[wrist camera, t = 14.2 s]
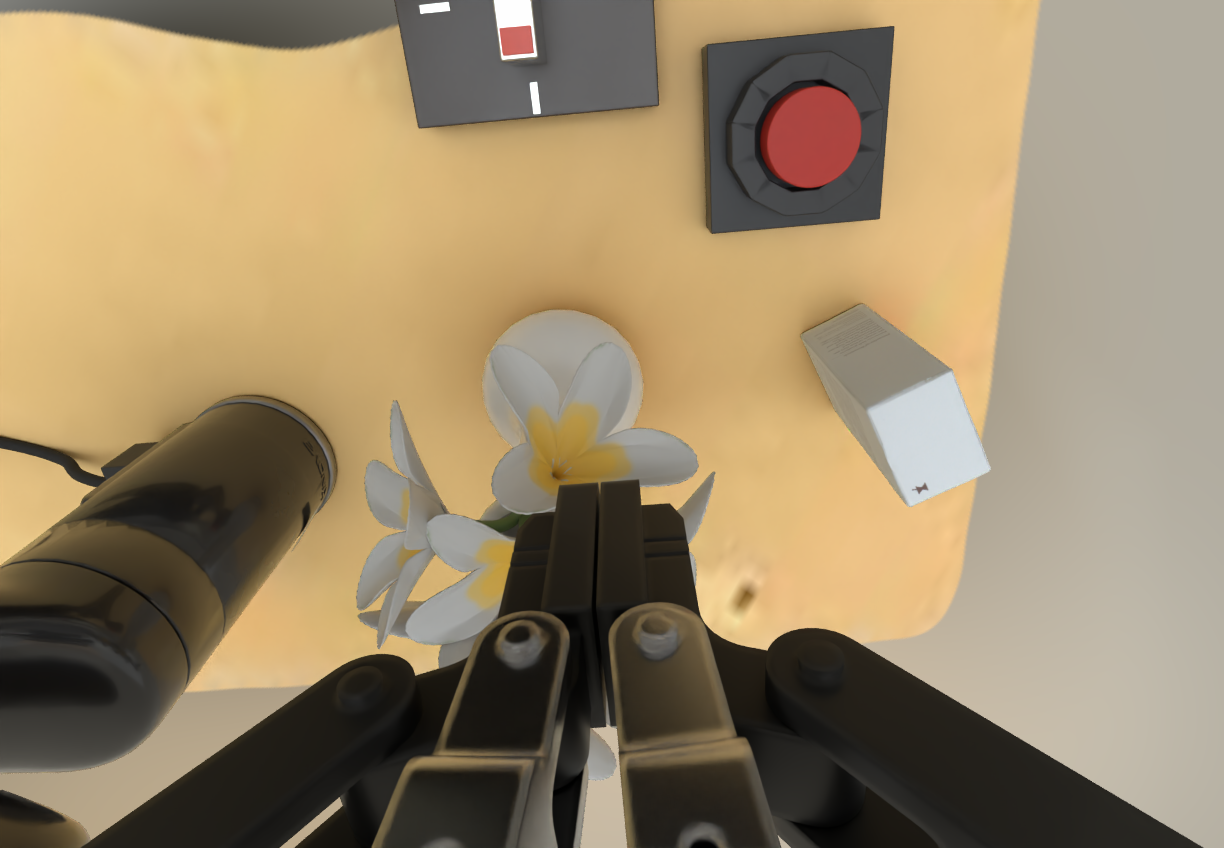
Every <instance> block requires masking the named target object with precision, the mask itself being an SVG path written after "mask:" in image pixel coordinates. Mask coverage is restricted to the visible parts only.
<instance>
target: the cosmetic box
mask: <svg viewBox="0 0 1224 848" xmlns="http://www.w3.org/2000/svg"><path fill="white" fill-rule="evenodd" d="M801 339H802V341H803V343H804V345H805V347H806V349H807V352H808V354H809V356H810V358H811V360H812V362H813V365H814V367H815V369H816V371H817V373H818V375H819V377H820V380H821V382H822V384H823V386H824V388H825V390H826V392H827V394H828V397H829V399H830V401H831V403H832V405H833V407H834V410H835V412H836V413H837V414H838V416H839V417H840V418H841V419H842V421H843V422H844V424H845V425H846V426H847V428H848V429H849V430H850V431H851V433H852V434H853V436H854V437H855V438H856V439H857V441H858V442H859V443H860V445H861V446H862V447H863V448H864V450H865V451H866V453H867V454H868V455H869V456H870V458H871V459H872V460H873V462H874V463H875V465H876V466H877V467H878V469H879V470H880V471H881V472H882V474H883V475H884V476H885V478H886V479H887V480H888V482H889V483H890V485H891V486H892V487H893V489H894V490H895V491H896V493H897V494H898V495H899V496H900V498H901V499H902V500H903V501H904V503H905V504H906V505H907V506H908V507H912V506H914V505H916V504H918V503H920V502H923V501H925V500H927V499H929V498H931V497H934V496H936V495H938V494H940V493H943V492H945V491H947V490H950V489H952V488H954V487H956V486H959V485H961V484H963V483H966V482H968V481H970V480H972V479H974V478H977V477H979V476H981V475H983V474H985V473H987V472H989V471H990V469H991V468H990V465H989V463H988V460H987V457H986V454H985V452H984V449H983V446H982V444H981V441H980V438H979V436H978V433H977V431H976V428H975V426H974V423H973V421H972V419H971V416H970V414H969V412H968V409H967V407H966V404H965V401H964V399H963V396H962V394H961V391H960V389H959V386H958V384H957V381H956V378H955V376H954V373H953V370H952V369H951V368H949V367H948V366H947V365H945V364H944V363H943V362H941V361H940V360H938V359H937V358H936V357H934V356H933V355H932V354H930V353H929V352H928V351H926V350H925V349H924V348H922V347H921V346H920V345H918V344H917V343H916V342H914V341H913V340H912V339H910V338H909V337H908V336H906V335H905V334H904V333H903V332H901V331H900V330H898V329H897V328H896V327H894V326H893V325H892V324H890V323H889V322H888V321H886V320H885V319H884V318H882V317H881V316H880V315H878V314H877V313H876V312H874V311H873V310H871V309H870V308H869V307H867V306H866V305H865V304H859V305H857V306H855V307H853V308H851V309H850V310H848V311H846V312H844V313H842V314H840V315H838V316H836V317H834V318H832V319H830V320H828V321H826V322H824V323H822V324H820V325H818V326H816V327H814V328H812V329H810V330H808V331H806V332H804V333H802V334H801Z"/></svg>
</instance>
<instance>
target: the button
mask: <svg viewBox="0 0 1224 848" xmlns="http://www.w3.org/2000/svg"><path fill="white" fill-rule="evenodd" d="M860 140H861V121H860V117H859V114H858V111H857V109H856V107H855V106H854V104H853V102H852V101H851V100H850V99H849V98H848V97H847V96H846V95H845V94H843V93H842V92H840V91H838V90H836V89H834V88H831V87H825V86H813V87H805V88H800V89H797V90H794V91H792V92H790V93H788V94H786V95H785V96H783V97H782V98H781V99H779V100H778V101H777V102H776V103H775V104H774V105H773V107H772V108H771V109H770V111H769V112H768V114H767V116H766V118H765V120H764V123H763V126H762V129H761V135H760V148H761V154H762V157H763V160H764V162H765V164H766V166H767V167H768V169H769V170H770V171H771V172H772V173H773V174H774V175H775V176H776V177H777V178H779V179H781V180H782V181H785V182H787V183H789V184H792V185H794V186H798V187H803V188H814V187H819V186H823V185H825V184H828V183H830V182H832V181H833V180H835V179H836V178H838V177H839V176H840V175H841V174H842V173H843V172H845V171H846V169H847V168H848V167H849V166H850V164H851V163H852V161H853V160H854V158H855V156H856V154H857V151H858V148H859V145H860Z"/></svg>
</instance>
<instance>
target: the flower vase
mask: <svg viewBox="0 0 1224 848" xmlns="http://www.w3.org/2000/svg"><path fill="white" fill-rule="evenodd" d="M643 383H644V381H643V377H642V373H641V368H640V364H639V360H638V358H637V357H636V355H635V353H634V351H633V349H632V348H631V346H630V344H629V342H628V341H627V340H626V339H625V338H624V337H623V336H622V335H621V334H620V333H619V332H618V331H617V330H616V329H615V328H614V327H612V326H611V325H609V324H607V323H606V322H604V321H602V320H601V319H599V318H597V317H596V316H593V315H589V314H586V313H582V312H579V311H576V310H553V309H552V310H548V311H543V312H539V313H535V314H531V315H529V316H527V317H525V318H523V319H522V320H520V321H518V322H516V323H514V324H512V325H511V326H510V327H509V328H508V329H507V330H506V331H505V332H504V333H503V334H502V335H501V336H500V337H499V338H498V339H497V340H496V342H495V344H494V346H493V347H492V349H491V351H490V353H489V354H488V356H487V358H486V362H485V367H484V371H483V375H482V391H483V402H484V405H485V408H486V411H487V414H488V416H489V419H490V422H491V423H492V425H493V426H494V428H495V429H496V431H497V432H498V434H499V435H500V437H501V438H502V439H503V440H504V441H505V442H507V443H508V444H509V445H510V446H511V447H512V449H511V450H510V451H509V452H507V453H506V454H505V455H504V457H503V458H502V459H501V460H500V461H499V463H498V465H497V466H496V468H495V470H494V474H493V476H492V484H491V486H492V492H493V494H494V496H495V497H496V499H497V500H496V501H495V502H494V503H492V504H491V505H490V506H489V507H488V508H487V509H486V510H485V512H484V513H483V515H482V516H481V518H480V520H474V519H470V518H468V517H465V516H460V515H456V514H450V513H449V511H448V510H447V508H446V507H445V505H444V504H443V502H442V500H441V499H440V497H439V495H438V493H437V492H436V490H435V488H434V486H433V484H432V482H431V480H430V478H429V476H428V474H427V472H426V470H425V468H424V466H423V464H422V462H421V460H420V458H419V455H418V453H417V451H416V448H415V446H414V443H413V441H412V438H411V436H410V433H409V431H408V428H407V426H406V423H405V420H404V417H403V414H402V412H401V409H400V406H399V404H398V402H397V401H393V404H392V409H391V417H390V419H391V422H390V438H391V448H392V452H393V457H394V460H395V463H396V465H397V467H398V469H399V470H400V471H401V472H402V473H403V474H404V475H405V476H407V477H408V478H405V477H403V476H401V475H399V474H397V473H395V472H394V471H393V470H391V469H390V468H389V467H387V466H386V465H385V464H383V463H382V462H380V461H378V460H372V461H370V463H369V464H368V466H367V467H366V469H367V470H366V475H365V491H366V498H367V502H368V505H369V507H370V510H371V512H372V514H373V515H374V517H375V518H376V519H377V520H378V521H379V522H380V523H381V524H383V525H384V526H386V527H390V528H394V529H398V530H406V531H403V532H399V533H395V534H392V535H389V536H386V537H385V538H383V539H382V540H381V541H380V542H378V543H377V545H376V546H375V547H374V549H373V550H372V551H371V553H370V555H369V557H368V558H367V560H366V563H365V565H364V567H363V571H362V574H361V576H360V581H359V584H358V590H357V596H356V599H357V608H358V610H364V609H366V608H367V607H368V606H369V605H371V604H372V603H373V602H374V601H375V600H376V599H377V598H378V597H379V596H380V595H381V594H382V593H384V592H385V591H386V590H387V589H388V588H389V587H390V586H391V585H392V584H393V583H394V582H395V583H394V584H393V585H392V586H391V587H390V589H389V591H388V592H387V594H386V596H385V600H384V603H383V605H382V608H381V610H378V611H369V612H364V613H360V615H358V617H359V619H360V622H363V623H364V624H365V625H368V626H370V627H371V628H374V629H376V630H378V634H377V644H378V645H377V647H378V649H380V648H381V646H382V645H383V643H384V642H385V640H386V638H387V636H388V634H390V635H394V636H397V637H403V638H409V639H411V640H414V641H415V642H417V643H422V644H427V645H442V646H441V649H440V652H439V658H438V660H439V668H442V667H446V666H449V665H451V664H454V663H457V662H459V661H461V660H463V659H465V658H466V657H468V656H469V654H470V652H471V649H472V646H473V644H474V642H475V640H476V638H477V636H478V635H479V634H480V632H481V631H482V630H483V629H484V628H485V627H486V626H488V625H489V624H490V623H492V622H493V621H495V620H497V618H498V614H499V609H500V605H501V601H502V596H503V592H504V588H505V583H506V579H507V575H508V570H509V567H510V562H511V557H512V553H513V552H514V544H515V540H516V535H517V531H518V529H519V528H520V527H521V526H522V525H523V524H524V522H525V521H526V520H527V519H528V518H529V517H530V516H531V515H532V514H533V513H545V512H555V509H556V502H557V495H558V488H559V485H568V484H582V483H595V482H598V484H599V490H600V488H601V482H607V481H621V480H634V479H639V483H640V487H660V486H669V485H672V484H678V483H681V482H683V481H686V480H688V479H689V478H690V477H692V476H693V475H694V474H695V472H696V471H697V468H698V461H697V455H696V454H695V453H694V451H693V449H692V448H690V447H689V445H688V444H686V443H685V442H683V441H682V440H681V439H679V438H677V437H675V436H673V435H671V434H668V433H665V432H663V431H659V430H654V429H646V428H632V427H633V425H634V424H635V422H636V420H637V417H638V414H639V411H640V408H641V405H642V402H643ZM631 428H632V429H631ZM714 475H715V472H712V473H711V474H710V475H709V477H708V478H707V479H706V480H705V481H704V482H703V483H702V485H701V486H700V487H699V488H698V489H697V490H696V491H695V493H694V494H693V495H692V496H691V497H690V498H689V499H688V501H687V502H686V503H685V504H684V505H683V506H682V507H681V508H680V509H678V510H677V512H678V513H679V514H680V515H681V516H682V517H683V518H684V524H685V530H686V536H687V542H688V544H689V543H690V542H691V541H692V539H693V538H694V536H695V534H696V533H697V531H698V529H699V526H700V524H701V523H702V519H703V517H704V514H705V512H706V507H707V505H708V502H709V497H710V495H711V490H712V488H713V483H714ZM435 554H437V556H438V557H439V558H440V559H442V560H443V561H444V562H445V563H446V564H448V565H449V566H451V567H452V568H454V569H456V570H458V571H461V572H469V571H472V570H474V571H473V572H471V573H470V574H469V575H468V576H466V577H465V578H463V579H462V580H460V581H459V582H457V583H456V584H454V585H452V586H450V587H448V588H447V589H445V590H443V591H441V592H439V593H437V594H436V595H435V596H433V597H431V598H429V599H428V600H427V601H406V600H407V598H408V596H409V594H410V593H411V591H412V589H413V587H414V586H415V584H416V582H417V581H418V579H419V578H420V576H421V574H422V573H423V571H424V570H425V568H426V567H427V565H428V564H429V562H430V561H431V560H432V558H433V557H434V555H435ZM689 555H690V559H691V565H692V571H693V577H694V583H695V586H696V575H697V574H696V570H697V569H696V562H695V558H694V556H693V555H692V554H691V552H689ZM606 723H607V724H608V725H610V719H609V710H608V702H607V701H606ZM612 727H613V728H616V729H617V726H612ZM587 763H588V769H589V779H588V780H604V779H607V778H609V777H610V776H612V775H613V773H614V771H615V769H616V766H617V765H616V759H615V756H614V753H613V752H612V750H611V748H610V747H609V746H608V744H607V743H606V741H605V740H603V739H602V738H601V737H600V735H599V734H597V733H596V732H595V731H594V730H593V729H592V728H590V750H589V757H588V759H587Z"/></svg>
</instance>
